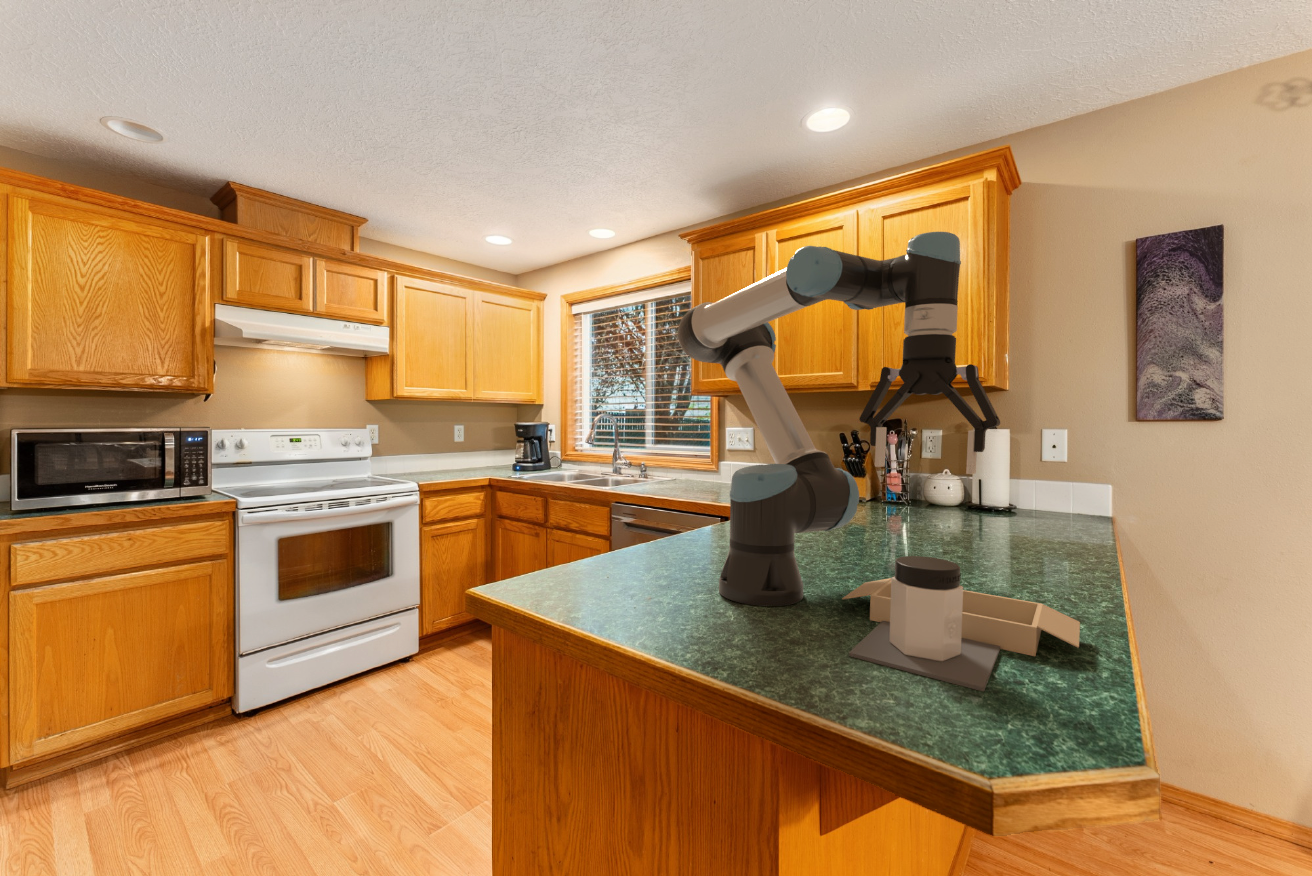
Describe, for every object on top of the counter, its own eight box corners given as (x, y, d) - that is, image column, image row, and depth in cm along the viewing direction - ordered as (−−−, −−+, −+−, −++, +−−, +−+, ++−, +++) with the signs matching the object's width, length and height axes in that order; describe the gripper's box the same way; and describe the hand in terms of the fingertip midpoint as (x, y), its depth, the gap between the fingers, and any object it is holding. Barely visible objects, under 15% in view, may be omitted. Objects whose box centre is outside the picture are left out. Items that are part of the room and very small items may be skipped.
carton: (840, 613, 95) (841, 588, 95) (865, 594, 105) (866, 572, 105) (1078, 665, 76) (1079, 635, 76) (1079, 636, 86) (1080, 609, 86)
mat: (848, 656, 78) (849, 652, 78) (882, 623, 90) (882, 620, 90) (983, 691, 68) (984, 687, 68) (1000, 649, 81) (1000, 646, 81)
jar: (934, 667, 73) (937, 574, 73) (878, 645, 80) (881, 560, 80) (971, 652, 78) (974, 565, 78) (915, 633, 85) (918, 553, 85)
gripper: (843, 337, 95) (837, 464, 96) (1018, 326, 79) (1010, 478, 80) (859, 342, 101) (854, 462, 102) (1026, 332, 85) (1018, 475, 86)
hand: (923, 470), depth 91 cm, fingers open, 13 cm apart
